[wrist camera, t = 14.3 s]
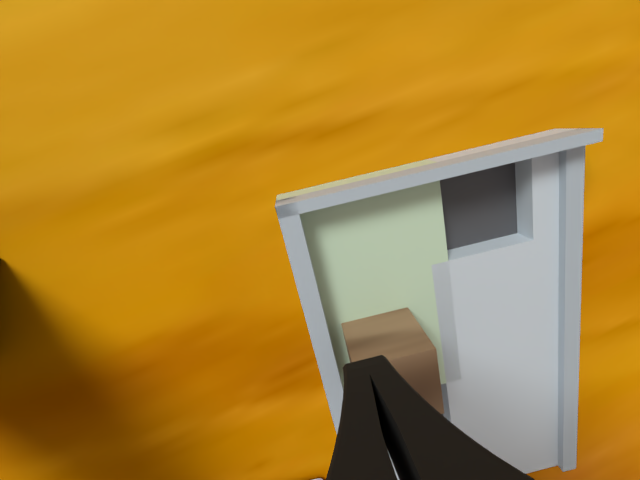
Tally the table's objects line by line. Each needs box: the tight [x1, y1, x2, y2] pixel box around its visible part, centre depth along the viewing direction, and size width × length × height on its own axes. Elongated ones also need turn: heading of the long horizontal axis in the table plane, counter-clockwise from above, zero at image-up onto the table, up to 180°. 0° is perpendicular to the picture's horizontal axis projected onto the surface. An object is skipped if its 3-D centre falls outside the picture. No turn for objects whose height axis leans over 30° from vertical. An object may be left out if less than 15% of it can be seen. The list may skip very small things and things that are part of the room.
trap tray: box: [275, 128, 603, 480], centre depth 21 cm, size 24×16×3 cm, turn 13°
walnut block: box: [341, 307, 444, 414], centre depth 19 cm, size 4×4×4 cm
